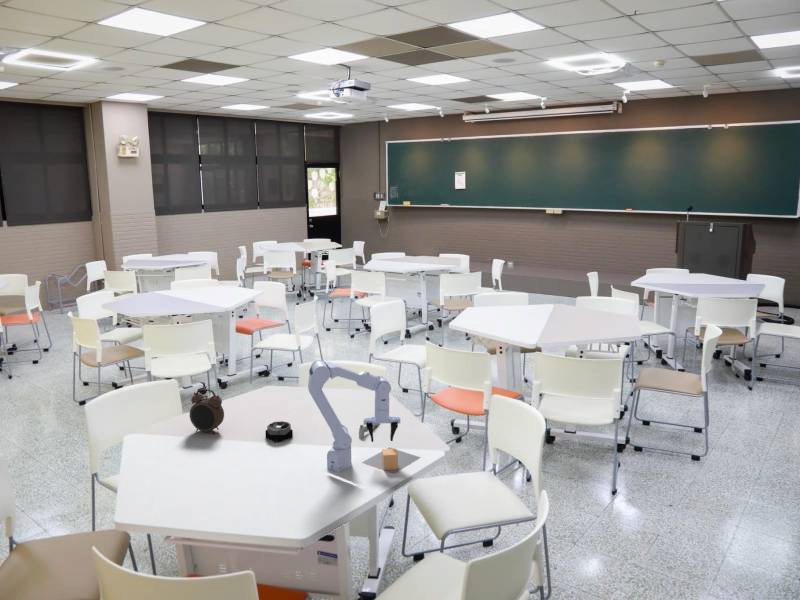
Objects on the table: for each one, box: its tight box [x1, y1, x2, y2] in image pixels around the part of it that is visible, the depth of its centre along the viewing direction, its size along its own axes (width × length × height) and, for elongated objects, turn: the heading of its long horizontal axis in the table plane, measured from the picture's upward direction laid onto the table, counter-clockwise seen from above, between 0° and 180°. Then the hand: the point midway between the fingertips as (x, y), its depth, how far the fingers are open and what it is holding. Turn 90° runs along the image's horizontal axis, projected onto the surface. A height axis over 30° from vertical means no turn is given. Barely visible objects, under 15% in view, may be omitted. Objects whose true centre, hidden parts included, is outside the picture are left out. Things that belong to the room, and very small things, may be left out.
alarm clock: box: [189, 388, 225, 435], centre depth 272 cm, size 14×7×20 cm, turn 76°
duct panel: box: [361, 446, 421, 475], centre depth 244 cm, size 18×16×5 cm
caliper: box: [358, 424, 380, 439], centre depth 275 cm, size 21×1×6 cm, turn 158°
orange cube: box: [381, 448, 398, 471], centre depth 239 cm, size 6×6×6 cm
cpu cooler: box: [265, 420, 294, 443], centre depth 268 cm, size 10×6×10 cm
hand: (381, 440), depth 243 cm, fingers open, 7 cm apart
